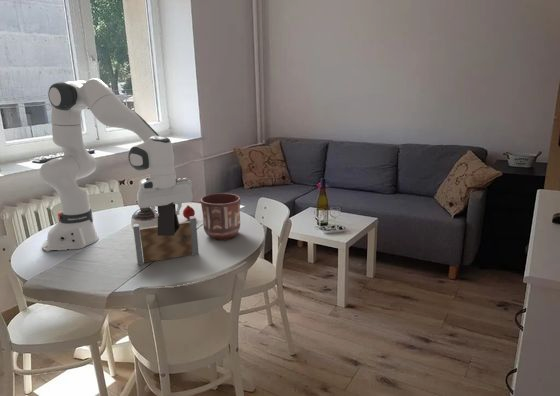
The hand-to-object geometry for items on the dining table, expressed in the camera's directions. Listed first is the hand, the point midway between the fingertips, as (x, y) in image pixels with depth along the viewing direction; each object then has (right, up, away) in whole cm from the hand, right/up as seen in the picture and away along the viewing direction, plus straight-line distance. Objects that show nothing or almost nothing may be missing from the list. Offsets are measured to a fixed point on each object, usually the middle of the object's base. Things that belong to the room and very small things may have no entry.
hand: (167, 215), depth 161 cm
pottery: (+16, -11, +34) cm, 39 cm away
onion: (-3, -5, +55) cm, 55 cm away
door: (-2, -18, +10) cm, 20 cm away
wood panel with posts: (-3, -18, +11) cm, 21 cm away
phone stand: (0, -6, +2) cm, 7 cm away
